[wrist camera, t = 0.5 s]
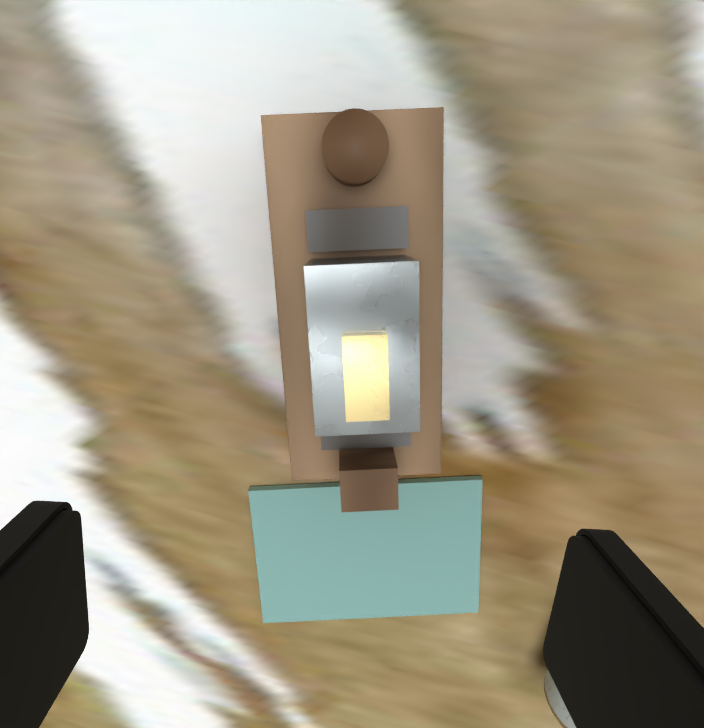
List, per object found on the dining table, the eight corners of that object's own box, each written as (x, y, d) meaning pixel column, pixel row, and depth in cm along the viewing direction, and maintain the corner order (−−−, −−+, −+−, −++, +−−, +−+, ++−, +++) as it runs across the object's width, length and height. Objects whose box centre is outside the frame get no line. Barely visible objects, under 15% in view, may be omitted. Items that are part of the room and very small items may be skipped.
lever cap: (405, 254, 26) (421, 262, 21) (406, 396, 28) (422, 438, 23) (310, 258, 26) (302, 267, 20) (320, 400, 28) (314, 443, 23)
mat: (480, 475, 34) (482, 479, 34) (476, 606, 37) (478, 612, 37) (249, 486, 34) (248, 491, 34) (264, 616, 37) (263, 622, 36)
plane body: (429, 123, 28) (462, 84, 20) (429, 444, 33) (455, 510, 26) (272, 130, 28) (245, 94, 20) (297, 451, 33) (284, 518, 26)
